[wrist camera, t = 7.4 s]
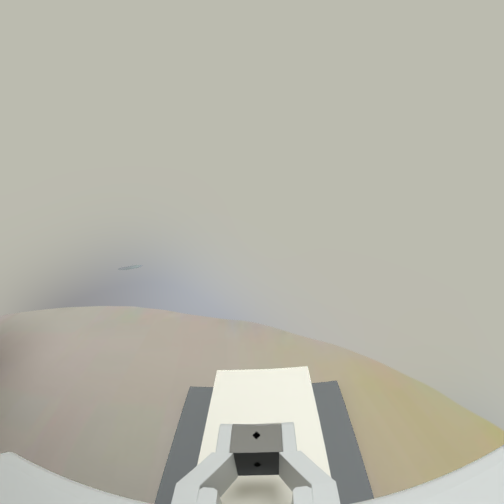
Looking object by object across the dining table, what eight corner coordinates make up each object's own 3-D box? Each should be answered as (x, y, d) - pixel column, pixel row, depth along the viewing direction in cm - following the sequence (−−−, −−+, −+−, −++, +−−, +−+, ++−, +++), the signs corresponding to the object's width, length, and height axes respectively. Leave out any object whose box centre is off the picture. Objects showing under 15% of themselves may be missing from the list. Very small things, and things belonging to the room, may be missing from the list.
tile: (338, 515, 8) (307, 366, 21) (186, 518, 9) (217, 370, 21) (332, 526, 9) (306, 383, 22) (194, 529, 9) (219, 386, 22)
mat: (395, 600, 3) (399, 599, 3) (131, 603, 4) (127, 602, 3) (336, 385, 21) (336, 380, 21) (191, 390, 22) (189, 386, 22)
